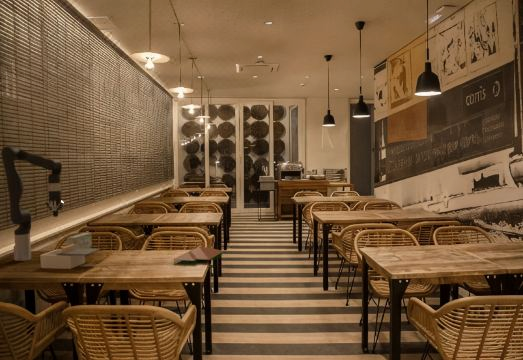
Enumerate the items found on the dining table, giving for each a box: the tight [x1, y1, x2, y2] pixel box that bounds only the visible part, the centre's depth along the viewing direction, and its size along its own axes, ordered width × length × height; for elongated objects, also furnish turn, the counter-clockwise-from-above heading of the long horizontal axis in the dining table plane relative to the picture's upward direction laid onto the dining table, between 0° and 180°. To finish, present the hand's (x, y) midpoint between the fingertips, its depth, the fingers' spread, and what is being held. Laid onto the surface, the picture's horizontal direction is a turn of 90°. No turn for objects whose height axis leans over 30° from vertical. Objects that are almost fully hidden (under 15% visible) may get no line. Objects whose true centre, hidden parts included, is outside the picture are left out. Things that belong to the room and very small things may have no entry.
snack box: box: [66, 232, 93, 256], centre depth 315 cm, size 21×6×15 cm, turn 168°
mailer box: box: [39, 249, 86, 270], centre depth 291 cm, size 20×16×8 cm
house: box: [171, 246, 224, 266], centre depth 301 cm, size 23×33×8 cm
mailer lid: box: [56, 244, 101, 257], centre depth 289 cm, size 20×16×4 cm
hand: (55, 216), depth 303 cm, fingers closed
